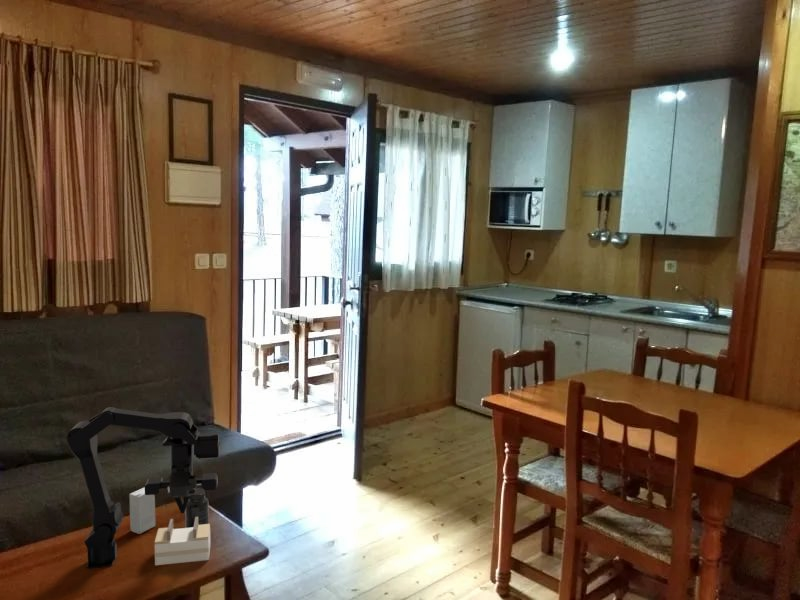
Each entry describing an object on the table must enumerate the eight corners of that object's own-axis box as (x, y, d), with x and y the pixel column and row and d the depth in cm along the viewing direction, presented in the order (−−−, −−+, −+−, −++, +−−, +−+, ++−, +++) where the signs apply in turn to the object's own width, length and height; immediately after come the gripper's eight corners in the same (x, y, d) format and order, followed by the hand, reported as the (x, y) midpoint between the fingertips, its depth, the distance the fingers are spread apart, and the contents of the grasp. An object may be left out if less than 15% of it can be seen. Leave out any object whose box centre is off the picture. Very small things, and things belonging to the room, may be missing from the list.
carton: (154, 565, 168) (154, 544, 167) (159, 550, 176) (158, 530, 175) (208, 560, 171) (208, 539, 171) (210, 545, 179) (210, 525, 178)
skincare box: (146, 523, 192) (145, 485, 190) (156, 526, 189) (155, 488, 188) (129, 531, 186) (128, 493, 185) (139, 535, 184) (138, 496, 183)
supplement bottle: (180, 530, 187) (179, 493, 186) (197, 521, 193) (196, 484, 192) (197, 536, 184) (196, 498, 183) (213, 526, 190) (213, 489, 189)
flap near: (173, 528, 176) (173, 518, 175) (170, 542, 168) (169, 531, 168) (158, 530, 175) (158, 520, 174) (154, 543, 168) (154, 533, 167)
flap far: (193, 539, 170) (193, 529, 170) (195, 526, 177) (195, 516, 177) (208, 538, 171) (208, 528, 170) (210, 525, 178) (209, 515, 178)
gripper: (140, 473, 160) (142, 530, 162) (215, 467, 165) (216, 523, 167) (147, 457, 171) (148, 510, 173) (217, 452, 175) (218, 505, 177)
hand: (182, 512), depth 172 cm, fingers closed
